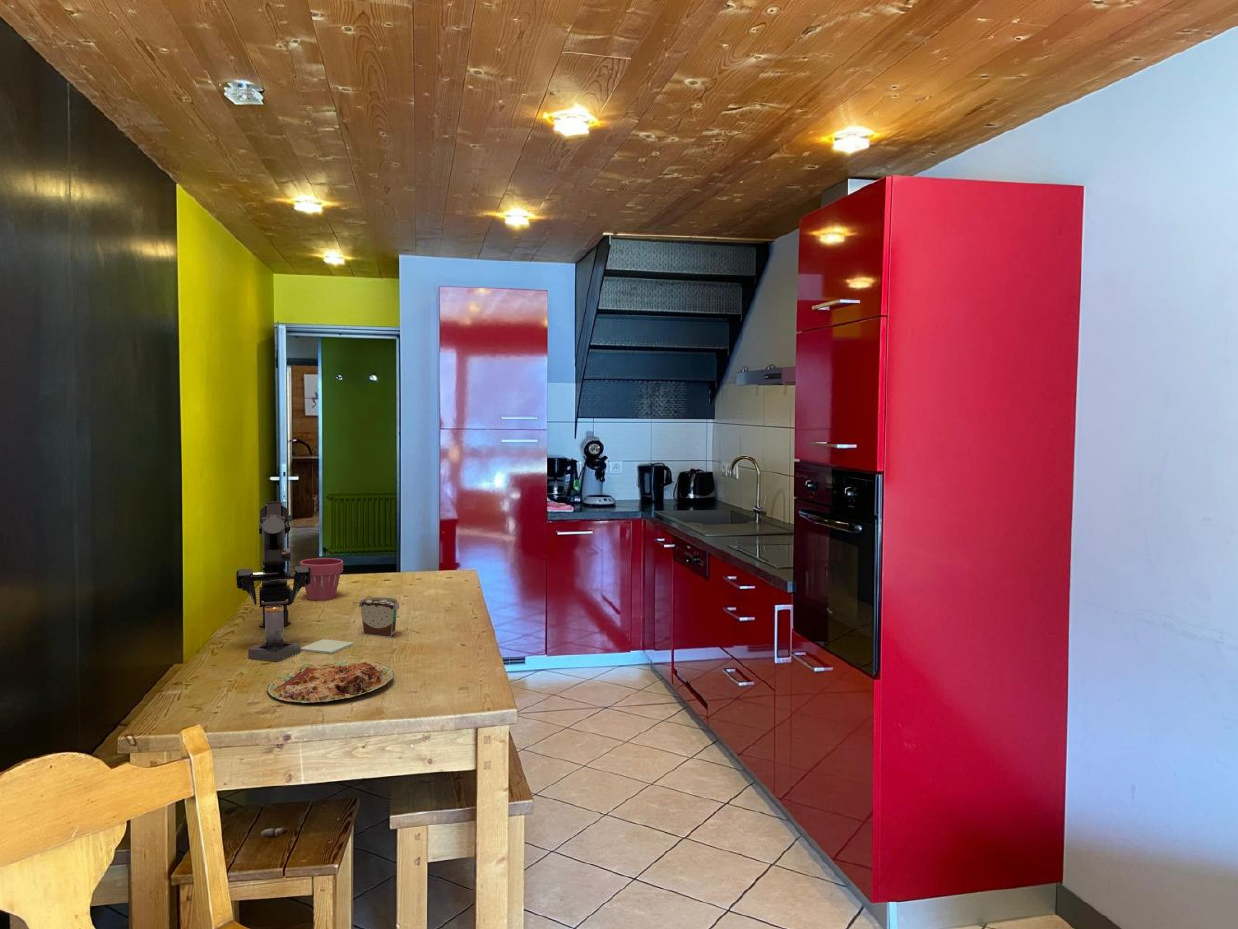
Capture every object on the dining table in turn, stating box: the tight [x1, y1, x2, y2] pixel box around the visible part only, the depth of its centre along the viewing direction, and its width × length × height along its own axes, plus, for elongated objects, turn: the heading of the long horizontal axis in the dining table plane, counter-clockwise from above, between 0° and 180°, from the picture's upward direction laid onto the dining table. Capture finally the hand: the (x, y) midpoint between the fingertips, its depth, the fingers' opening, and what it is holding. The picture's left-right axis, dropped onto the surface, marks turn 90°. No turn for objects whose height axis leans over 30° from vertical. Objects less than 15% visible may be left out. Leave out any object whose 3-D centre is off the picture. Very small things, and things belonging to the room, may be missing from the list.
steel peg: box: [264, 605, 285, 650], centre depth 222 cm, size 4×4×13 cm
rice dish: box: [266, 661, 395, 704], centre depth 199 cm, size 28×28×5 cm
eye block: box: [247, 641, 302, 663], centre depth 223 cm, size 9×9×2 cm
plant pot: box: [299, 557, 344, 601], centre depth 292 cm, size 14×14×13 cm
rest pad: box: [301, 638, 355, 655], centre depth 231 cm, size 10×10×1 cm
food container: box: [358, 596, 400, 638], centre depth 246 cm, size 12×6×10 cm, turn 71°
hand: (274, 603), depth 228 cm, fingers open, 9 cm apart
